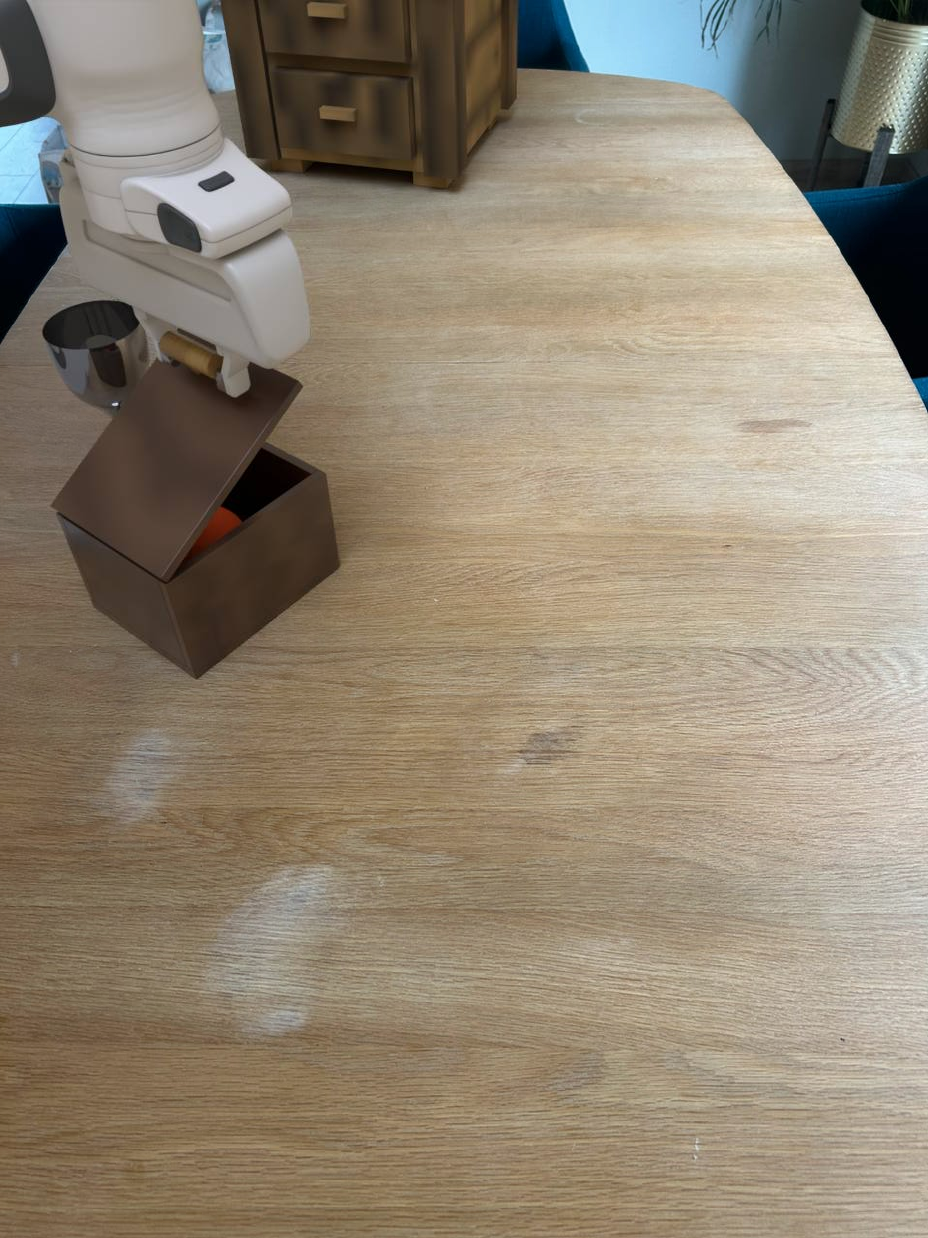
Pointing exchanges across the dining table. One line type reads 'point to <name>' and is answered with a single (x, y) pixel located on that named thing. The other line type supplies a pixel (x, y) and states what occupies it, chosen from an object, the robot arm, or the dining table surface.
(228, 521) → the clementine
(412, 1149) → the dining table surface
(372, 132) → the wooden drawer cabinet
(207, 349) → the lid
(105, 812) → the dining table surface
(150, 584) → the chest
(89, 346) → the wine glass
